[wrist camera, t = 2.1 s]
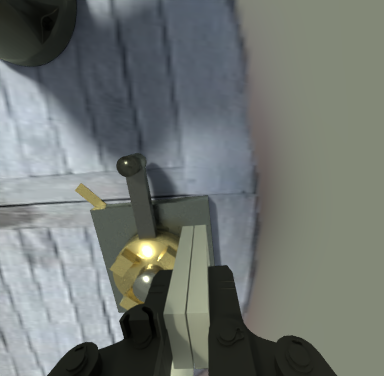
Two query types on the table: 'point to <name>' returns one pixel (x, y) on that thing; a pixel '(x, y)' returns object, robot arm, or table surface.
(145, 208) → the ring nut
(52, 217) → the table surface
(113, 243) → the collar plate
